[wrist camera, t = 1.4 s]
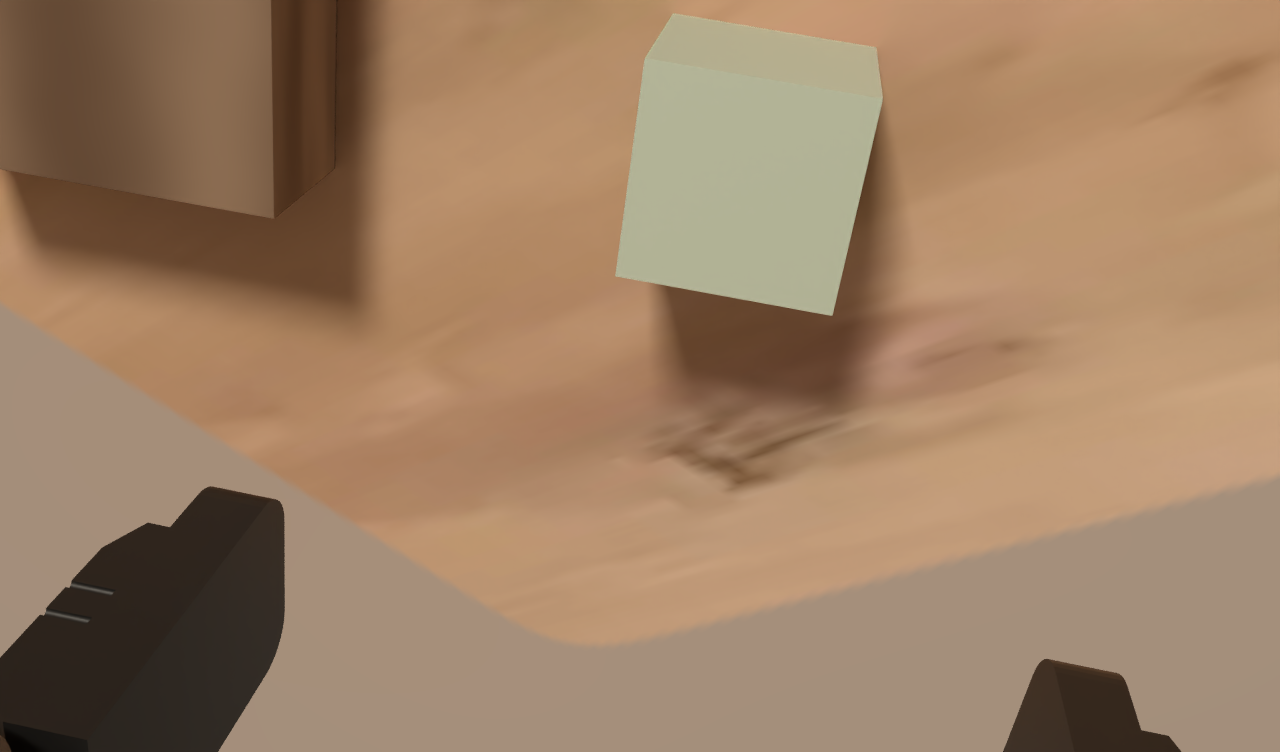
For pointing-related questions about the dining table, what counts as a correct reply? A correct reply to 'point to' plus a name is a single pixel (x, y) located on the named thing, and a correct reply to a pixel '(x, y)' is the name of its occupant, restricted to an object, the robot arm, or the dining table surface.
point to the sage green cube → (748, 162)
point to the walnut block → (172, 97)
